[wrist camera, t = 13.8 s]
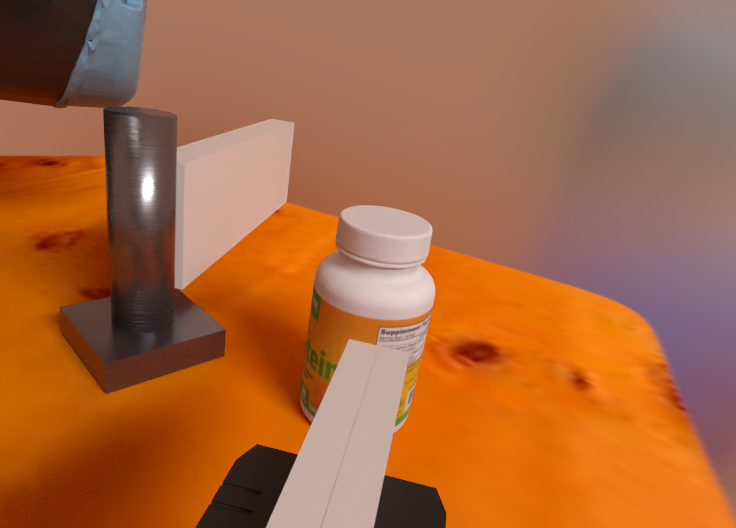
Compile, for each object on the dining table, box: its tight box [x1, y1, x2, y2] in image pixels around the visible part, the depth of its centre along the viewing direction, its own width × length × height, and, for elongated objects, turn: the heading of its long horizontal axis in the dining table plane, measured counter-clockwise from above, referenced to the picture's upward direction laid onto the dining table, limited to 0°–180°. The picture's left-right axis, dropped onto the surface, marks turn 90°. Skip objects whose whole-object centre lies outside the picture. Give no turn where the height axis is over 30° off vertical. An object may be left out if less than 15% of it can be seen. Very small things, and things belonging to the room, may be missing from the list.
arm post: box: [60, 107, 226, 393], centre depth 25 cm, size 6×6×12 cm
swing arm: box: [175, 119, 294, 290], centre depth 36 cm, size 20×2×7 cm, turn 169°
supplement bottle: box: [300, 205, 435, 433], centre depth 24 cm, size 5×5×10 cm
